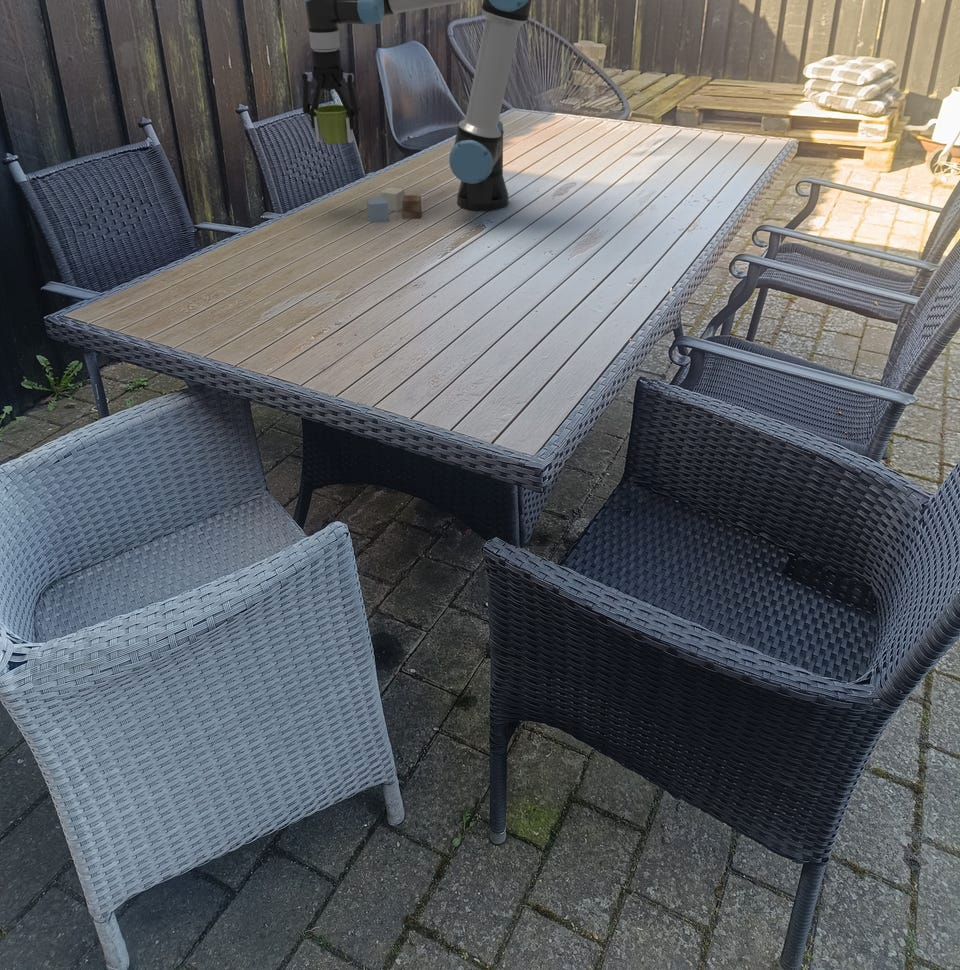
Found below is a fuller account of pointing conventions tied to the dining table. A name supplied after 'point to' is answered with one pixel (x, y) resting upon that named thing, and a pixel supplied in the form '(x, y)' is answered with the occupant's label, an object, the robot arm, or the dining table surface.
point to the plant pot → (333, 123)
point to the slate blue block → (377, 210)
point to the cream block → (393, 198)
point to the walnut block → (411, 206)
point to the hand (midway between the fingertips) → (335, 141)
